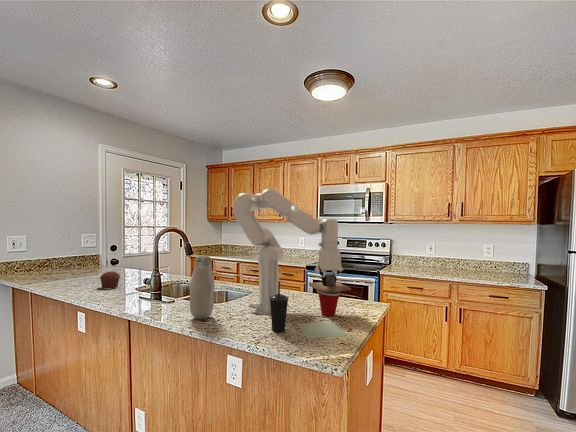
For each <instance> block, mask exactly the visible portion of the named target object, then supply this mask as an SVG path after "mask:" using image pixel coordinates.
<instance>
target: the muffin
mask: <svg viewBox="0 0 576 432" xmlns="http://www.w3.org/2000/svg"><path fill="white" fill-rule="evenodd" d="M120 278H121V276H120V273H118V272H117V271H112V270H111V271H106V272H104V273H102V274H101V276H100V277H99V280H100V285H101V289H102V288H112V289H116V288H115V287H117V288H118V286H119V282H120V281H119V280H120Z"/></svg>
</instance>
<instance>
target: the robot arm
mask: <svg viewBox="0 0 576 432" xmlns="http://www.w3.org/2000/svg"><path fill="white" fill-rule="evenodd" d="M267 209H271V210H273V211H274V212H276V213H277V214H278V215H280V216H281V217H283V218H284V219H285V220H287V221H288V222H290V223H291V224H292V225H294V226H296V227H297V228H298V229H299V230H301V231H302V232H305V233H306V234H307V235H318V234H319V235H321V239H320V240H321V242H319V243H318V246H319V247H321V248H319V253H318V260H317V265H316V266H315V268H314V271H315V272H317V273H318V274H319V275H320V276H321V282H322V284H323V285H324V286H326V277H325V275H326V274H327V271H329V272H332V273H331V274H333V275H335V285H336V282H337V277H338V276H339V274H341V272H342V271H344V268H343V267H344V266H342V256H341V251H340V248H339V247H338V244H339V243H338V242H339V241H338V240H339V239H338V238H339V237H338V236H339V222H338V220H337V219H335V218H333V219H332V218H324V219H319V218H314V217H313V216H311V215H310V214H308V213H306V212H305V211H303V210H302V209H301V208H300V207H298V206H297V204H296V203H295V202H293V200H290V198H289V199H288V198H287V197H285V196H284V195H282V194H281V193H280V192H279V191H278V190H275V189H274V188H267V189H266V188H265V190H263V191H262V193H256V194H253V193H250V192H249V193H248V192H243V193H240V194H238V196H237V197H236V198H235V199H234V204H233V209H232V210H233V214H234V217H235V219H236V221H237V222H238V224H239V226H240V227H241V228H242V230H243V232H244V234H245V236H246V237H247V239H248V240H249V242H250V244H251V245H252V246H254V247H259V248H260V249H261V250H260V251H259V253H258V255H257V256H258V259H257V261H258V281H259V282H258V300H257V302H255V303H249V304H248V308H249V309H252V310H255V313H256V314H258V315H261V316H271V307H270V299H269V297H270V296H273V295H275V294H278V281H280V277H279V276H280V274H279V273H280V271H279V263H280V262H281V261H282V260H283V258H284V251H283V248H282V247H281V245H280V243H279V242H278V240H277V239H276V238H275V235H274V234H273V232H272V231H271V230H270V229H269V228H268V227H262V224H260V222H259V221H258V219H257V217H256V216H255V214H254V213H253V212H255V211H261V210H267Z"/></svg>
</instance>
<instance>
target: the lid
mask: <svg viewBox="0 0 576 432" xmlns="http://www.w3.org/2000/svg"><path fill="white" fill-rule="evenodd" d="M325 277H326V286H324V285H323V284H322V281H319V282H316V281H315V282H308V285H309V286H310V287H312V288H313V289H315V290H316V291H317V292H318V291H319V292H328V291H339V292H347V291H348V292H349V291H352V288H351V287H349V286H347V285H345V284H343V283H341V282H340V281H336V285H335V275H333V273H326V275H325Z"/></svg>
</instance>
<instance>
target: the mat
mask: <svg viewBox="0 0 576 432" xmlns="http://www.w3.org/2000/svg"><path fill="white" fill-rule="evenodd" d="M296 325H297V326H298V328H299V329H300V330H301V332H302V333H303V334H304V335H305V336H306V338H307V339H317V338H330V337H340V336H341V337H342V336H343V337H344V336H349V334H348V333H347V332H345V331H344V329H342V328H341V327H340V326H339V325H337V324H336V323H335V322H333V321H331V320H330V321H319V322H318V321H317V322H307V323H306V322H305V323H296Z"/></svg>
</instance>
